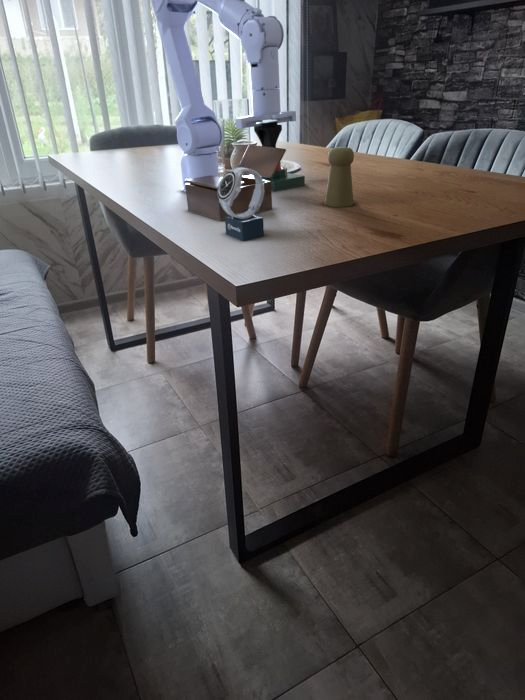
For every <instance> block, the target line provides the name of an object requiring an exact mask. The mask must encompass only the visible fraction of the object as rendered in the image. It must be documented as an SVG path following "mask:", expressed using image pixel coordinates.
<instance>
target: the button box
mask: <svg viewBox="0 0 525 700" xmlns="http://www.w3.org/2000/svg"><path fill="white" fill-rule="evenodd" d="M244 176H245V177H250V178H254V176H252V175H251V174H247V175H244ZM261 177H262V176H261ZM305 178H306V176H305V175H302V174H295V173H290V172H288V168H287V166H282V165H281V169H278V170H276V171H275V173H274V175H273V177H272V178H268V177H262V179H263V180H266V181H271V190H272V192H278V191H282V190H286V189H291V188H295V187H300V186H305V185H306V181H305V180H306V179H305Z"/></svg>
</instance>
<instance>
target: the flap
mask: <svg viewBox="0 0 525 700" xmlns="http://www.w3.org/2000/svg"><path fill="white" fill-rule="evenodd" d="M286 151H287V148H282V147H276V148H274V147H265V146H262V145H256V144H255V145H253V144H248V146H247V148H246V150H245V152H244V154H243V156H242V158H241V160H240V161H239V164H238V165H237V168H239V167H242V168H248V169H252V170H255V171H256V172H258V173H259V174H260V176H262V177H268V178H272V177H273V175H274V173H275V171H276V169H277V167H278V165H279V163H280V162H282V159H283V158H284V156H285V154H286V153H287V152H286ZM243 173H244V174H246V175H252V174H251V173H249V172H248V171H245V172H243Z"/></svg>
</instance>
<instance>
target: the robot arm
mask: <svg viewBox="0 0 525 700" xmlns="http://www.w3.org/2000/svg"><path fill="white" fill-rule="evenodd" d="M150 2H151V5H152V9H153V13H154V16H155V20H156V27H157V30H158V34H159V37H160V40H161V44H162V47H163V51H164V54H165V58H166V62H167V64H168V68H169V70H170V75H171V79H172V82H173V85H174V89H175V93H176V96H177V99H178V103H179V107H180V110H181V111H180V112H179V114H178V116H177V117H176V118H175V120H174V124H175V127H176V141H177V144H178V146H179V148H180V150H182V152H183V155H182V157H181V159H180V172H181V179H182V188H180V189H179V191H180V192H185V193H186V189H185V184H187V183H188V182H185V180H186V179H192V178H198V177H204V176H210V175H212V176H217V177H220V171H219V157H218V152H219V151H220V147H221V145H222V143H223V141H224V131H223V127H222V126H221V124H220V123H219V121H218V119H217V115H216V112H214V111H213V110H212V109H211V108H210V107H209V106H208V105H207V104H205V100H204V97H203V93H202V89H201V86H200V83H199V79H198V74H197V71H196V67H195V64H194V59H193V57H192V53H191V49H190V45H189V42H188V39H187V34H186V31H185V25H186V23H187V22H189V21H190V20H191V17H192V15H193V14H194V12H195V11H196V8H197V7H198V5H199V4H201V5H202V6H203V7H205V8H207V9H208V10H210V11H212V12H213V13H215V14H216V15H217V16H218V21H219V24H220V25H221V27H223V28H224V29H225V30H227V31H228V32H229V33H230V34H232V35H234V37H236V38H237V39H239V40H240V43H241V46H242V48H243V49H244V51H245V55H246V57H245V58H246V61H247V63H248V69H249V81H250V82H249V85H250V97H251V98H250V99H251V113H252V114H250V115H245V116H239V117H235V118H234V119H235V129H236V130H237V129H239V130H240V129H241V130H243V129H247V128H253V131H254V133H255V135H256V136H257V138H258V141H259V142H260V145H261V146H265V147H274V148H277V143H278V139H279V137H280V134H281V132H282V131H283V124H282V123H289V122H297V111H296V110H286V111H281V91H280V90H281V88H280V87H281V86H280V65H279V63H280V62H279V50H280V48H281V47H282V45H283V43H284V36H285V34H284V33H285V32H284V28H283V27H284V26H283V24H282V22H281V21H280V20H279V19H278V17H277V16H275V15H268V16H265V15H264V13H263V12H262V11H263V10H262V9H261V8H259V7H254V6H253V5H250V4H249V3H248V2H247V1H246V0H150ZM270 120H271V121H270Z"/></svg>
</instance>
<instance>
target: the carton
mask: <svg viewBox="0 0 525 700" xmlns="http://www.w3.org/2000/svg"><path fill="white" fill-rule="evenodd" d="M245 176H246V175H243V176H242V179H241V191H240V192H239V194H238V195H237V196H236V198H235V199H234V200H233V203H232V206H231V207H230V208H231V210H232V212H233V213H234V214H238V213H243V212H246V211H248V209H249V204H250V202H251V200H252V197H253V193H254V189H255V185H256V181H255V179H254V178H250V177H245ZM222 177H223V176H222ZM222 177H221V176H219V177H217V176H212V175H210V176H204V177H198V178H192V179H186V180H185V182H188V183H187V184H185V189H186V192H185V197H186V205H187V212H190V213H192V214H196V215H199V216H201V217H205V218H210V219H212V220H215V221H218V222H223V221H225V216H229V214H227V213H226V212H225V211H224V210H223V208H222V206H221V203H220V201H219V198H218V194H217V191H218V185H219V183H220V180H221V179H222ZM263 182H264V190H265V192H264V197H263V201H262V203H261V206H260V208H259V210H258V212H256V213H255V214H257V213H259V212H260V213H261V212H264V211H268V210H272V209H273V195H272V193H273V191H272V190H271V181H266V180H263Z"/></svg>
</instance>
